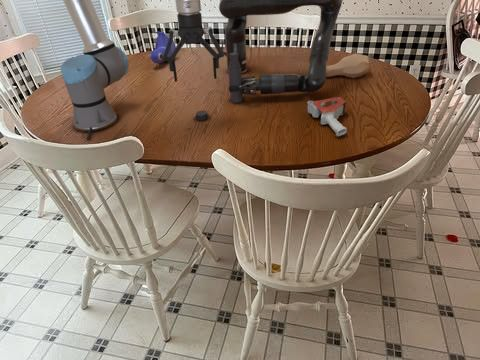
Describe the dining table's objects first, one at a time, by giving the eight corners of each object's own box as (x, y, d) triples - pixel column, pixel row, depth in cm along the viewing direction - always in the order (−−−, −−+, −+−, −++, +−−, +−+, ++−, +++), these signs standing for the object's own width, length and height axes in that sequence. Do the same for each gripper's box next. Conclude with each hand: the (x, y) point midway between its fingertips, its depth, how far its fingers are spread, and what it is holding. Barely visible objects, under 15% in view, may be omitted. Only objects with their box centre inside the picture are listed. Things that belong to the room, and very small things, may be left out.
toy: (164, 63, 199) (144, 69, 176) (159, 31, 192) (138, 32, 170) (181, 62, 196) (162, 68, 174) (177, 30, 190) (157, 31, 167)
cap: (197, 115, 134) (197, 110, 132) (209, 115, 133) (208, 110, 132) (194, 120, 130) (194, 115, 129) (206, 121, 130) (205, 115, 128)
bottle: (244, 98, 144) (242, 52, 133) (239, 103, 140) (236, 56, 130) (234, 97, 146) (230, 51, 135) (228, 101, 142) (224, 55, 131)
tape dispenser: (341, 143, 115) (361, 114, 127) (344, 129, 111) (364, 101, 124) (292, 129, 122) (315, 103, 135) (293, 115, 119) (316, 90, 131)
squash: (372, 78, 155) (374, 59, 148) (326, 86, 156) (326, 68, 150) (365, 66, 162) (367, 47, 156) (321, 74, 164) (321, 56, 157)
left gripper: (147, 17, 106) (158, 85, 119) (230, 13, 108) (232, 80, 121) (149, 12, 112) (159, 77, 125) (227, 8, 114) (230, 72, 127)
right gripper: (270, 68, 143) (228, 70, 143) (273, 81, 131) (227, 83, 132) (271, 86, 147) (230, 88, 148) (273, 100, 136) (229, 102, 136)
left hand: (195, 78), depth 123 cm, fingers open, 13 cm apart
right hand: (229, 86), depth 140 cm, fingers closed on bottle, 5 cm apart
